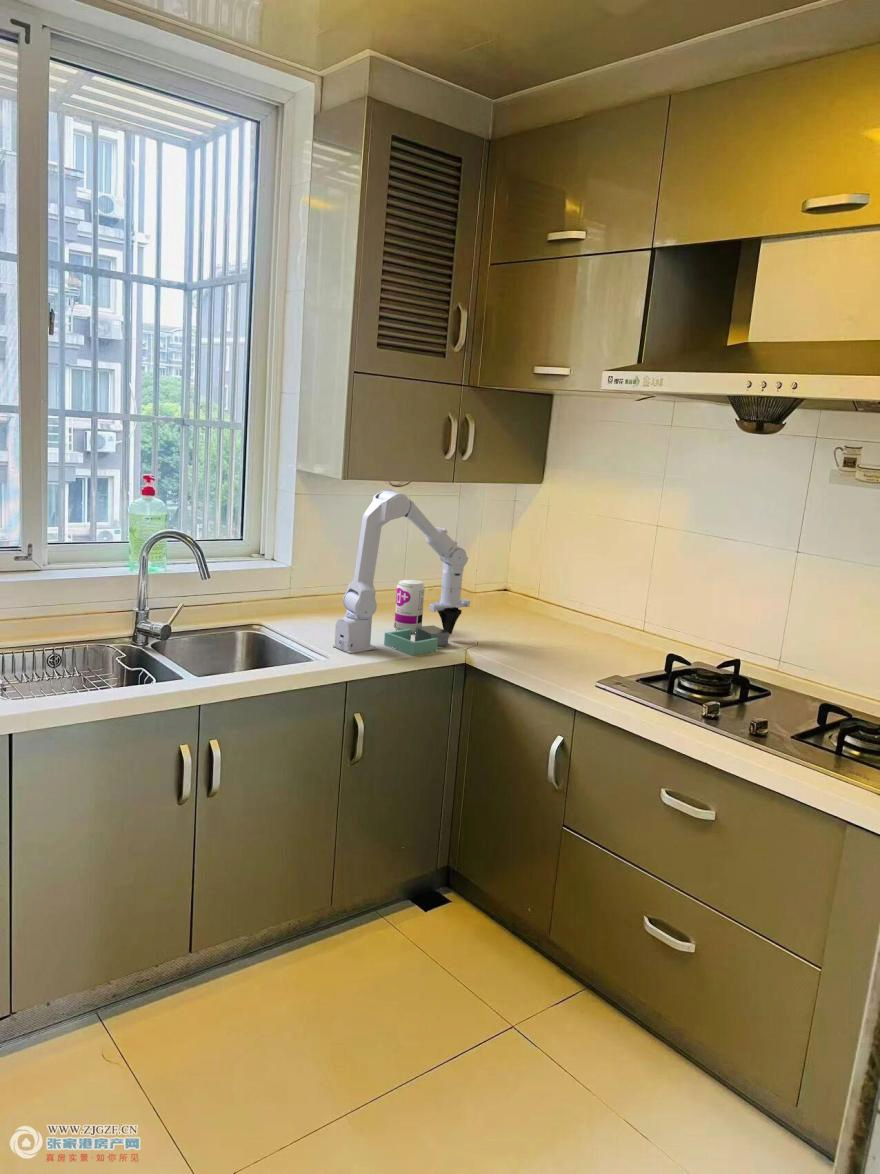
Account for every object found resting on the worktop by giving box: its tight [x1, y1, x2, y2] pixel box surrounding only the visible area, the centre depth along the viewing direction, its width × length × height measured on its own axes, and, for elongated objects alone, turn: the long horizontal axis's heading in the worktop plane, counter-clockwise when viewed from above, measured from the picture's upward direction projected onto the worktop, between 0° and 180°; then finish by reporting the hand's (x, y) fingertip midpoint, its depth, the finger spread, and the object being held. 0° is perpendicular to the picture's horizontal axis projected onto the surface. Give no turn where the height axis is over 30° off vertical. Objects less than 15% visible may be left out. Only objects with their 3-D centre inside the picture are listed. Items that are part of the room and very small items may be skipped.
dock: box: [383, 629, 438, 656], centre depth 245 cm, size 9×12×4 cm
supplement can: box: [393, 578, 425, 634], centre depth 262 cm, size 8×8×15 cm
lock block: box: [414, 624, 450, 648], centre depth 250 cm, size 6×8×4 cm
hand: (447, 633), depth 255 cm, fingers closed
